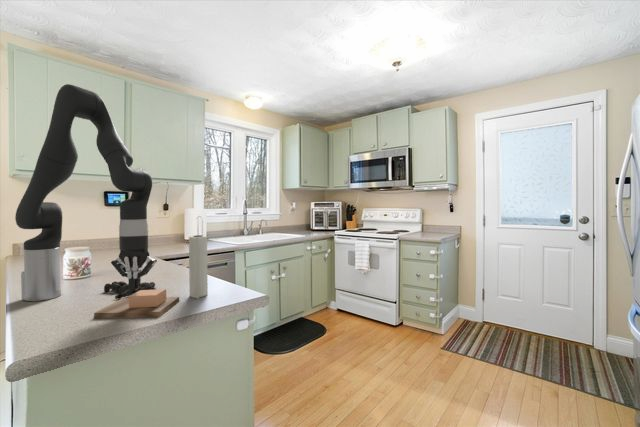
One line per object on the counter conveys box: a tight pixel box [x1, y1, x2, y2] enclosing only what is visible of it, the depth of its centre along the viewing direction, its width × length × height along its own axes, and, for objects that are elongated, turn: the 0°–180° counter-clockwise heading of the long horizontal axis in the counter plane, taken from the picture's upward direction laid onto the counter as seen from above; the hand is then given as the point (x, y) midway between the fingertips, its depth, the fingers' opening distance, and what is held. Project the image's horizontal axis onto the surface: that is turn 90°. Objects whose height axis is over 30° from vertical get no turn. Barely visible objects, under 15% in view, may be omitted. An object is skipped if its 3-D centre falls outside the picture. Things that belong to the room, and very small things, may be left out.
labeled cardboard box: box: [128, 288, 167, 308], centre depth 92 cm, size 4×6×8 cm
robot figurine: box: [103, 281, 157, 300], centre depth 111 cm, size 18×4×20 cm
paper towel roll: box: [188, 234, 209, 299], centre depth 106 cm, size 7×6×21 cm
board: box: [93, 296, 180, 319], centre depth 92 cm, size 18×14×2 cm
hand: (134, 289), depth 92 cm, fingers closed
